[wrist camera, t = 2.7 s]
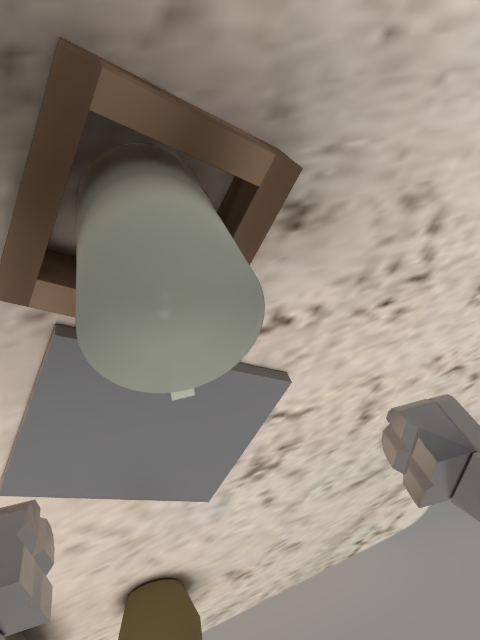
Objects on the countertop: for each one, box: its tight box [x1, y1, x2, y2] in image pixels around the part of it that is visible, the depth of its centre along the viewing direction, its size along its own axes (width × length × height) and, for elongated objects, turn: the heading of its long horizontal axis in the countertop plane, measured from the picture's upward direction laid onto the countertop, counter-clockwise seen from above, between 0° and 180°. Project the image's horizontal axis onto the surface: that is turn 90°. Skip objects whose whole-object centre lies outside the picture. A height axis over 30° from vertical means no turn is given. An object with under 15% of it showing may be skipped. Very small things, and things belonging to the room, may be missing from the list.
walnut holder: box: [0, 37, 303, 317], centre depth 20 cm, size 10×10×3 cm
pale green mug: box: [76, 143, 265, 401], centre depth 19 cm, size 8×6×10 cm
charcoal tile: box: [0, 324, 292, 502], centre depth 31 cm, size 16×14×1 cm
